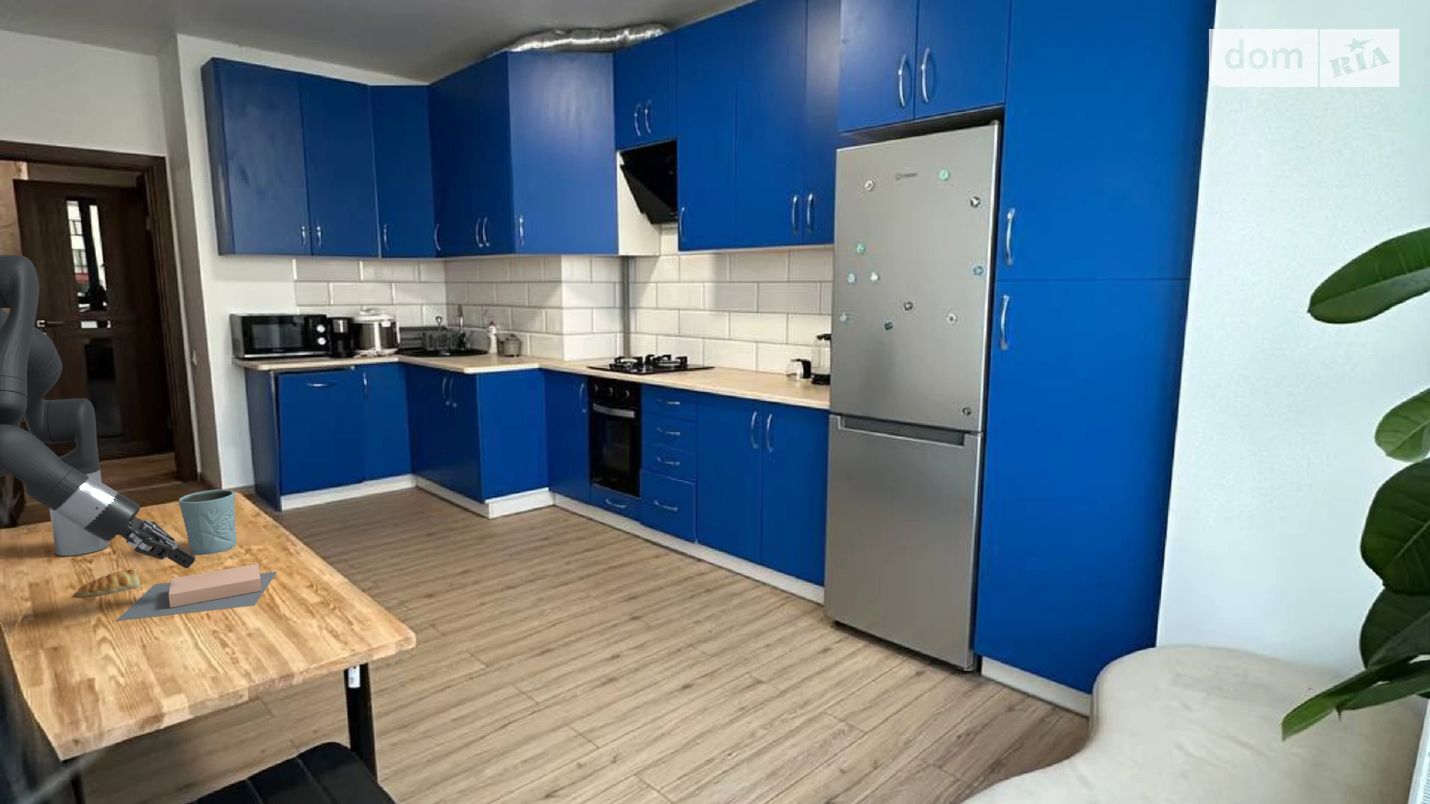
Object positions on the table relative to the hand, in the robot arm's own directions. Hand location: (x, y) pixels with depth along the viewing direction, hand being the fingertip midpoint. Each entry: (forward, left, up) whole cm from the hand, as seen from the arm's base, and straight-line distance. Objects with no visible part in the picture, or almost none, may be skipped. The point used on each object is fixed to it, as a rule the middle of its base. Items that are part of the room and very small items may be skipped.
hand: (191, 563), depth 141 cm
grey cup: (-31, -6, -7) cm, 32 cm away
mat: (0, +1, -7) cm, 7 cm away
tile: (+1, -3, -5) cm, 6 cm away
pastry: (-9, -16, -7) cm, 20 cm away
